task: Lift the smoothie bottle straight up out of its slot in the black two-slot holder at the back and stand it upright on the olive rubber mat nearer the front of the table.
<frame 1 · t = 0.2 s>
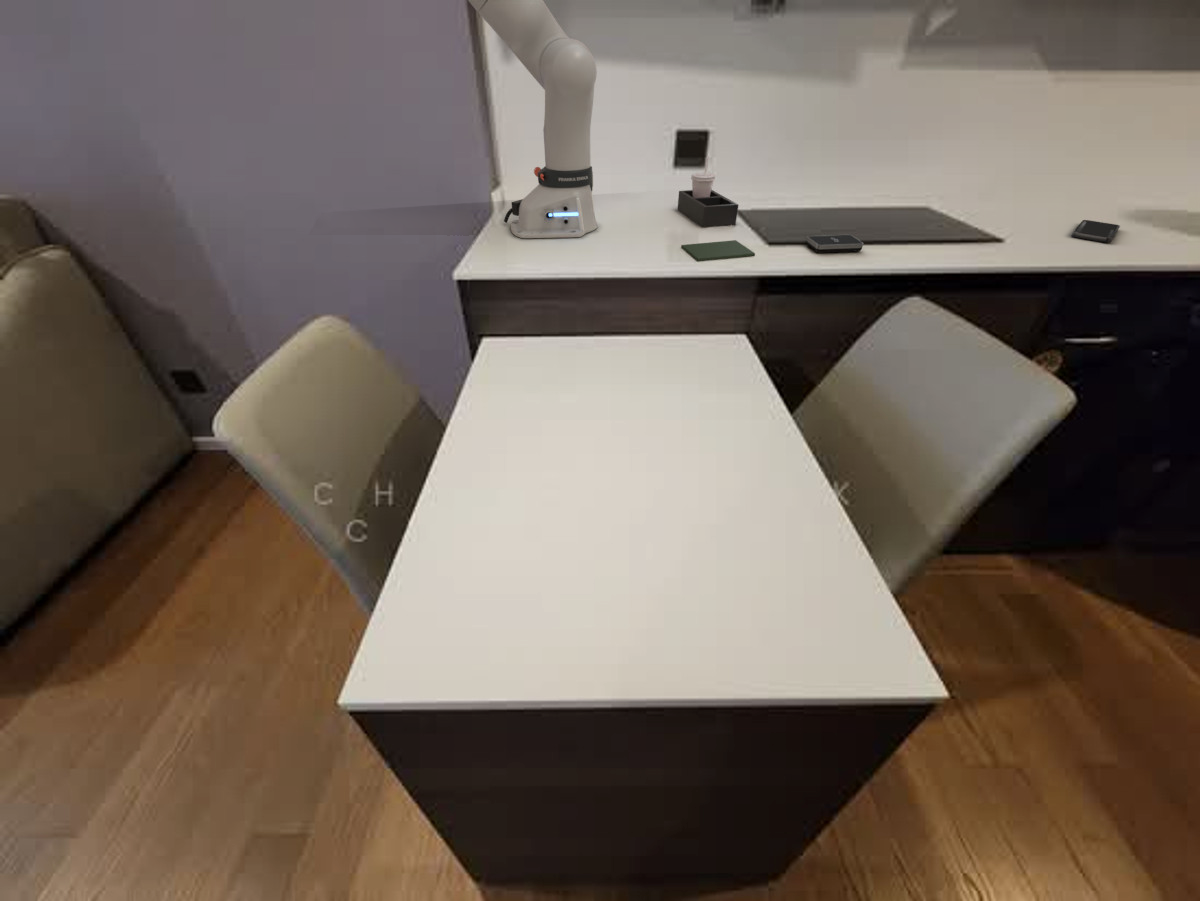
external hard drive: (832, 249, 124), on the table
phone: (1094, 234, 132), on the table
holder: (705, 217, 145), on the table
mat: (717, 251, 122), on the table
smoothie: (699, 213, 148), resting in holder
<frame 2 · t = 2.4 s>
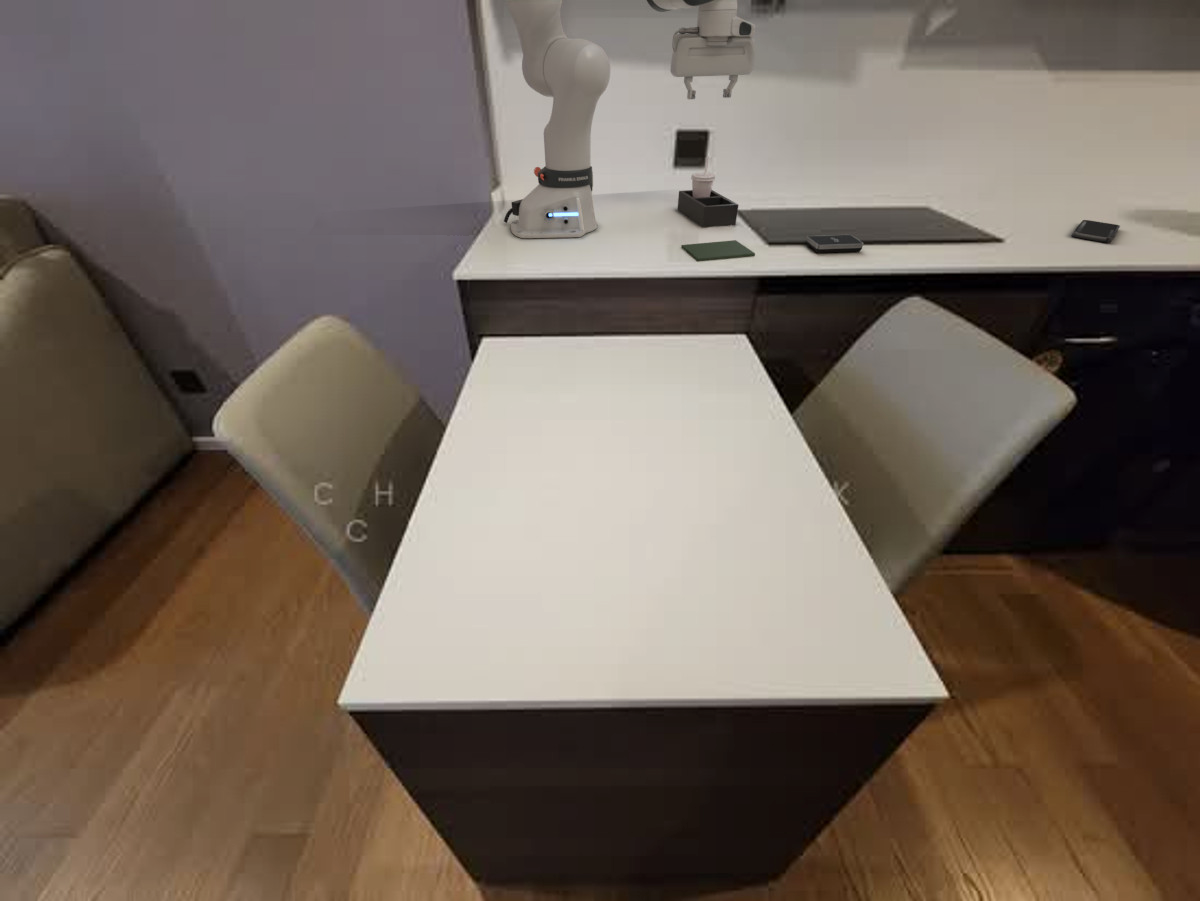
hand: (709, 98, 131), 27 cm above the table, tool pointing down, fingers open, 8 cm apart
nothing on the table moved.
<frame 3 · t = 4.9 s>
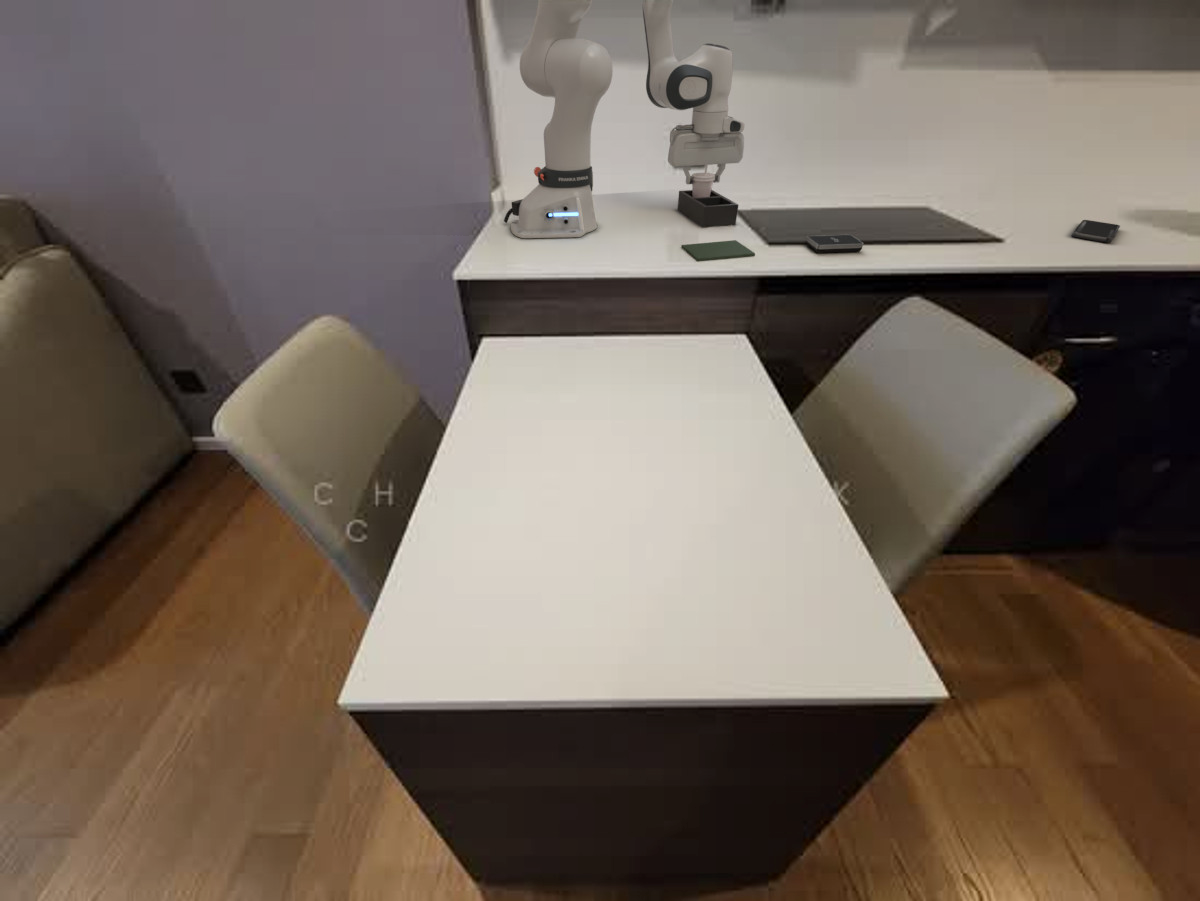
hand: (702, 183, 144), 8 cm above the table, tool pointing down, fingers closed on smoothie, 6 cm apart
smoothie: (699, 213, 148), resting in holder, touching gripper
everything else where it was.
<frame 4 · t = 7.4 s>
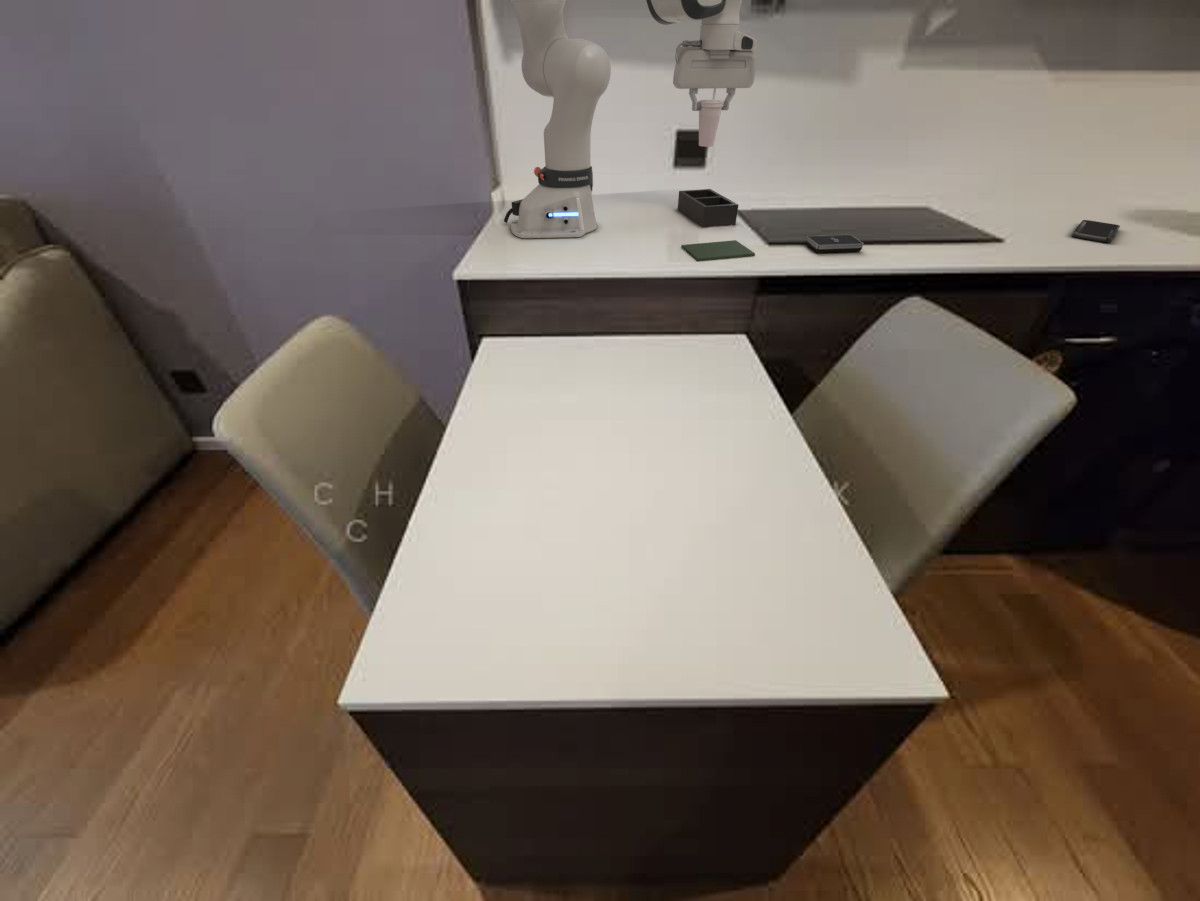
hand: (710, 110, 132), 25 cm above the table, tool pointing down, fingers closed on smoothie, 6 cm apart
smoothie: (705, 146, 137), point 17 cm above the table, touching gripper
everything else where it was.
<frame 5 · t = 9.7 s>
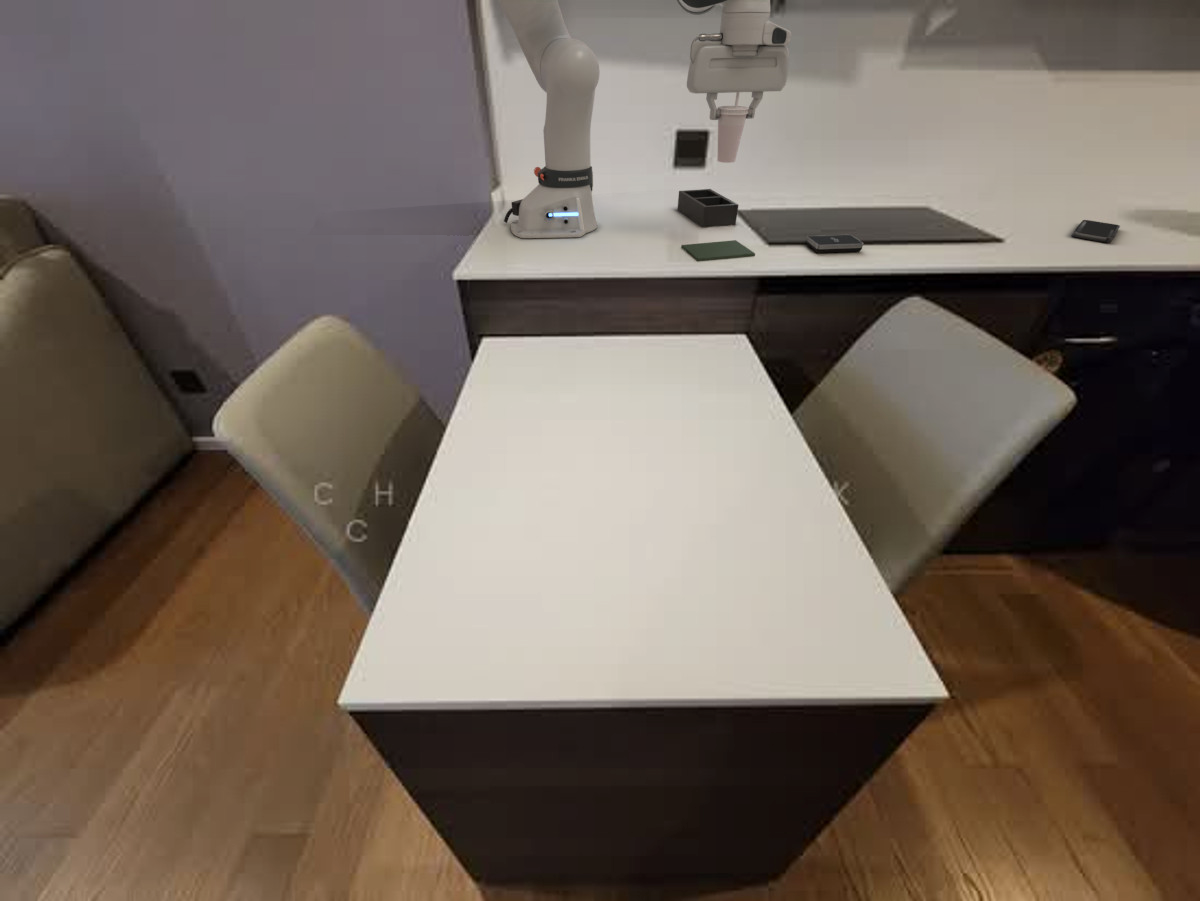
hand: (731, 119, 108), 26 cm above the table, tool pointing down, fingers closed on smoothie, 6 cm apart
smoothie: (726, 161, 113), point 18 cm above the table, touching gripper
everything else where it was.
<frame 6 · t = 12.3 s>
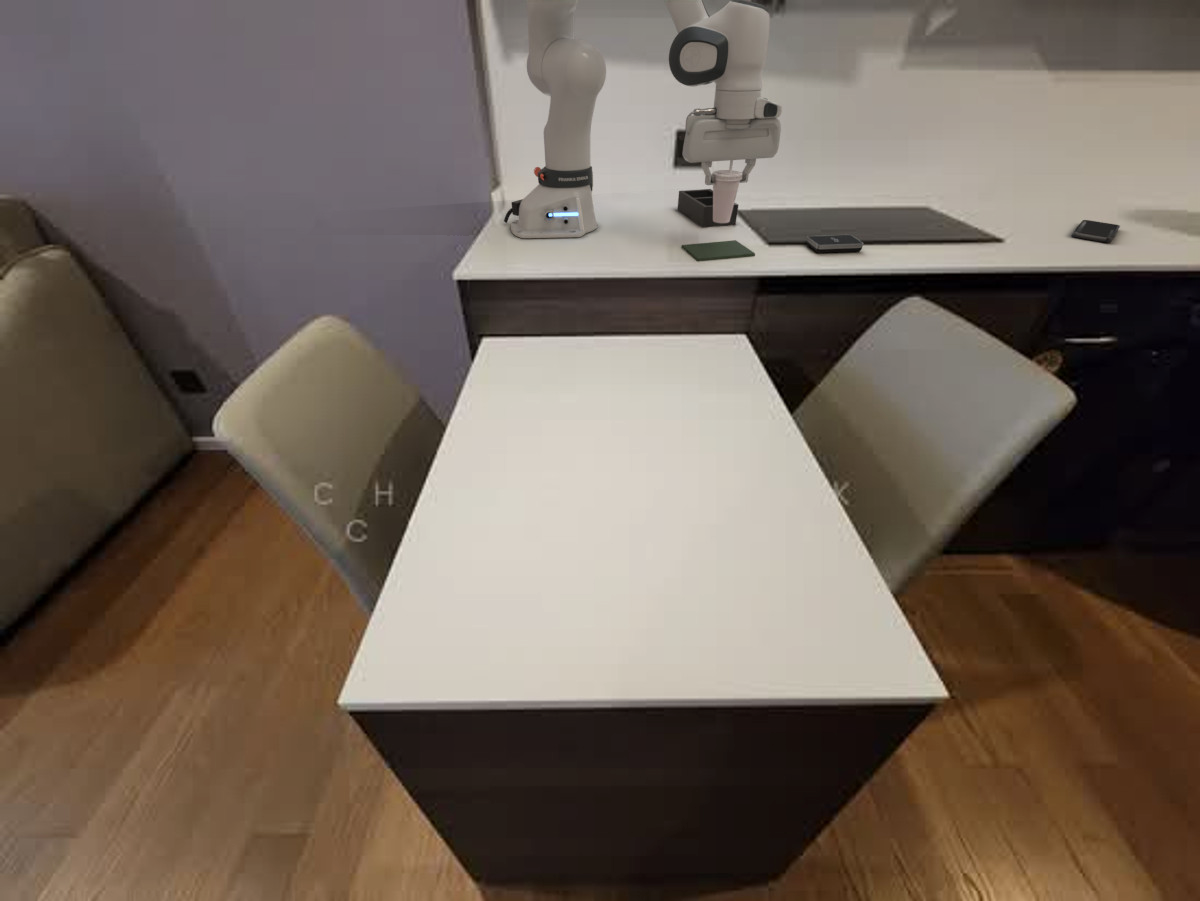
hand: (726, 183, 113), 14 cm above the table, tool pointing down, fingers closed on smoothie, 6 cm apart
smoothie: (721, 221, 118), point 7 cm above the table, touching gripper
everything else where it was.
when the fingers open (8 cm above the table, at t = 14.4 s): smoothie stays where it is, resting on mat.
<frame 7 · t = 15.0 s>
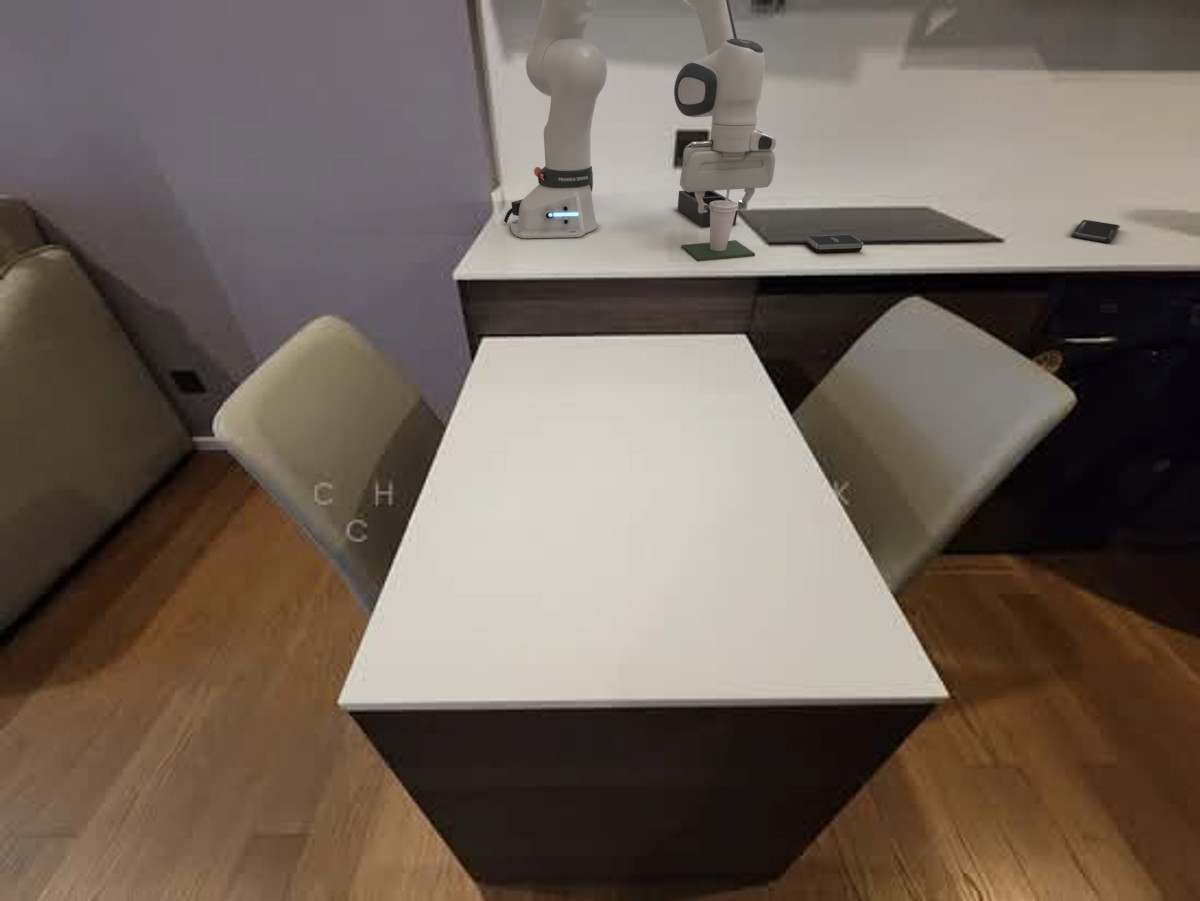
hand: (722, 211, 117), 9 cm above the table, tool pointing down, fingers open, 8 cm apart
smoothie: (717, 249, 122), resting on mat
everything else where it was.
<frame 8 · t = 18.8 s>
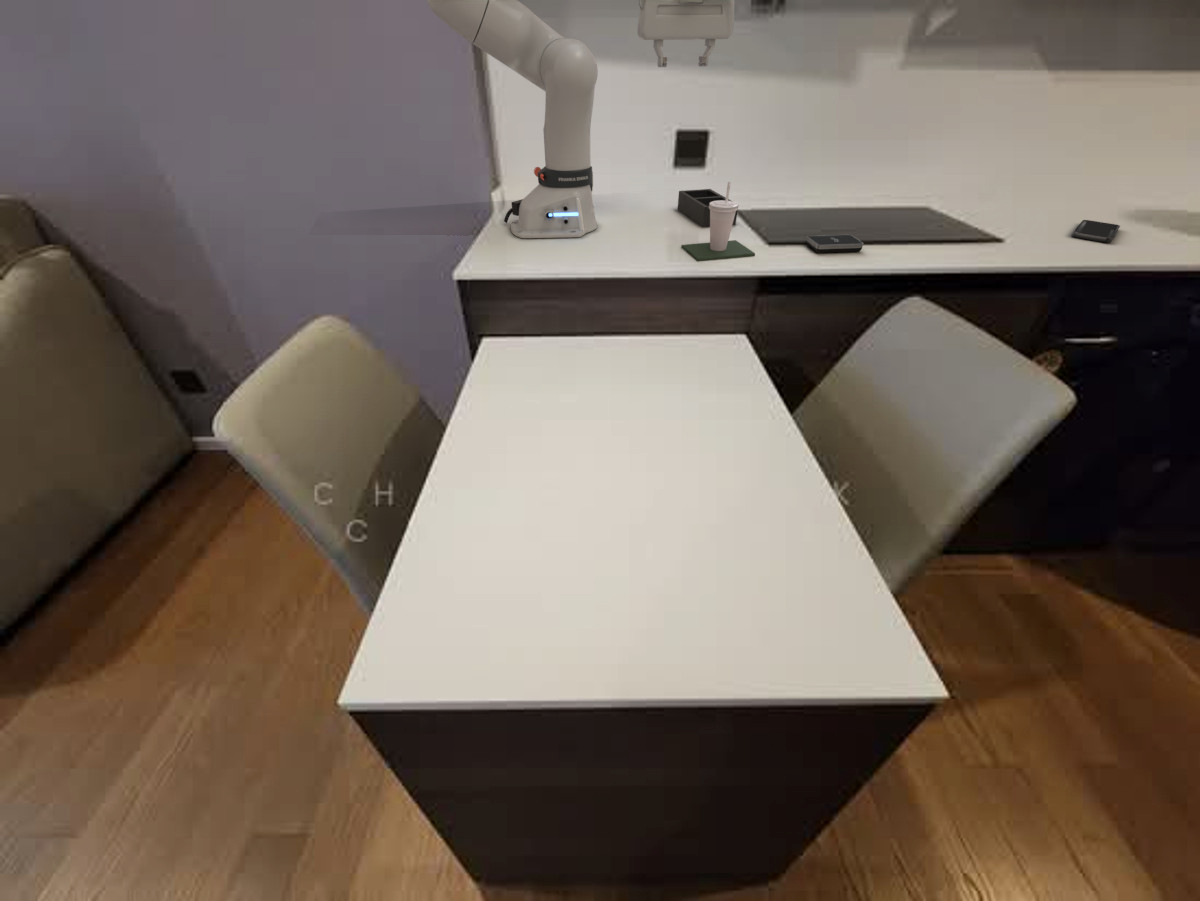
hand: (682, 66, 114), 34 cm above the table, tool pointing down, fingers open, 8 cm apart
nothing on the table moved.
at the end: smoothie inside the target area on the mat (0.4 cm from its centre), point 0.4 cm above the mat's base; smoothie tilted 0° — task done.
